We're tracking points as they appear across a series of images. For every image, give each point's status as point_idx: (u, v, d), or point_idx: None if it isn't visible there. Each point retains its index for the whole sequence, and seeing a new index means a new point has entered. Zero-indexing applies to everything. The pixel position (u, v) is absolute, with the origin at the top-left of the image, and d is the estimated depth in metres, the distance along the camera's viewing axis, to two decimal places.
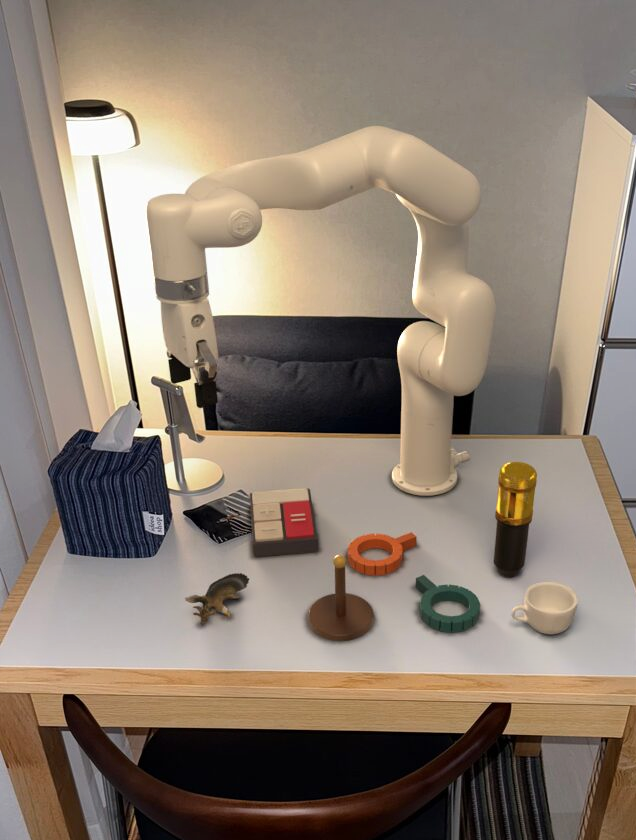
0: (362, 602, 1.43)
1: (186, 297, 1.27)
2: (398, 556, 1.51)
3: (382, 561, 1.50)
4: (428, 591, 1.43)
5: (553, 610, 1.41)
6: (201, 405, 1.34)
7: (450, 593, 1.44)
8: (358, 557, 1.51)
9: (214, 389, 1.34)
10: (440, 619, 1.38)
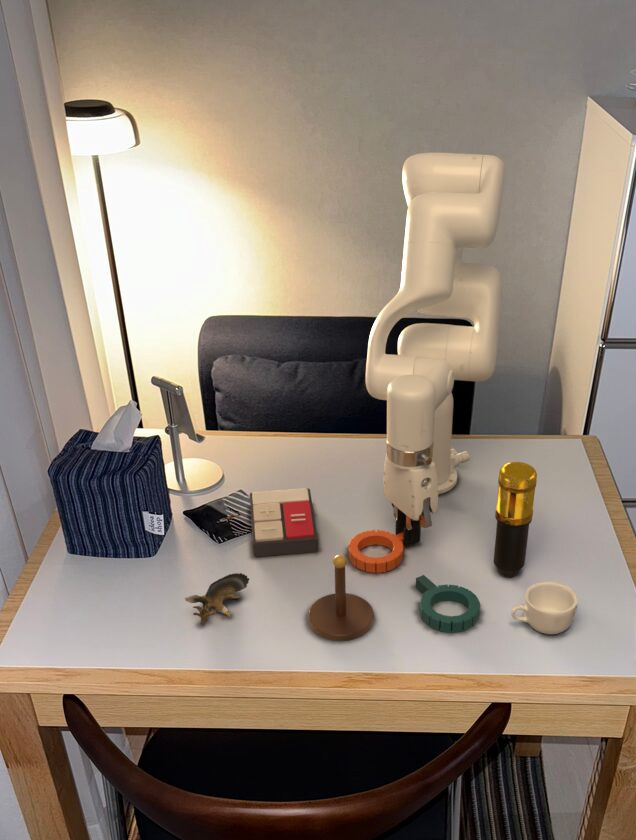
0: (362, 602, 1.43)
1: (418, 464, 1.44)
2: (399, 553, 1.52)
3: (383, 558, 1.50)
4: (428, 591, 1.43)
5: (553, 610, 1.41)
6: (407, 545, 1.55)
7: (450, 593, 1.44)
8: (359, 554, 1.51)
9: (418, 531, 1.55)
10: (440, 619, 1.38)
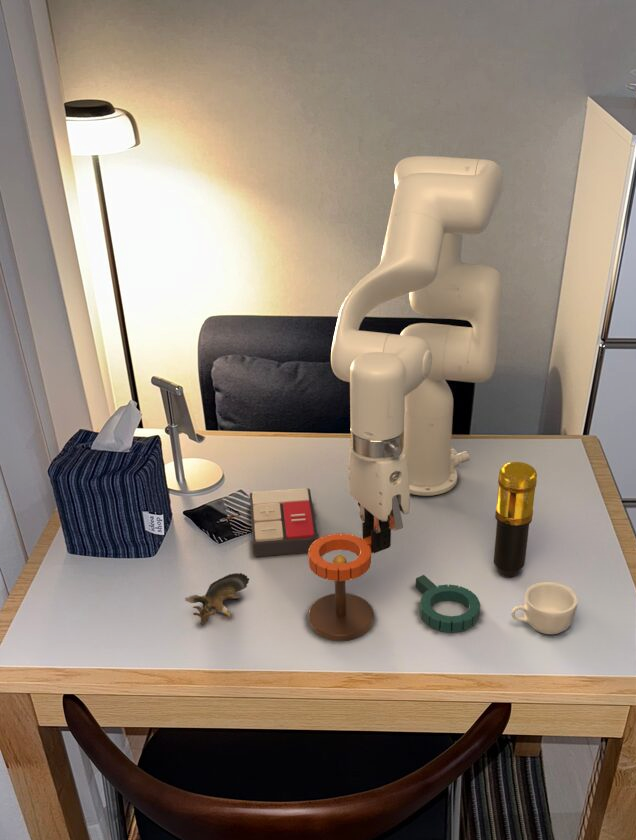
0: (362, 602, 1.43)
1: (386, 455, 1.25)
2: (365, 559, 1.32)
3: (347, 564, 1.31)
4: (428, 591, 1.43)
5: (553, 610, 1.41)
6: (376, 550, 1.36)
7: (450, 593, 1.44)
8: (319, 560, 1.32)
9: (388, 534, 1.36)
10: (440, 619, 1.38)
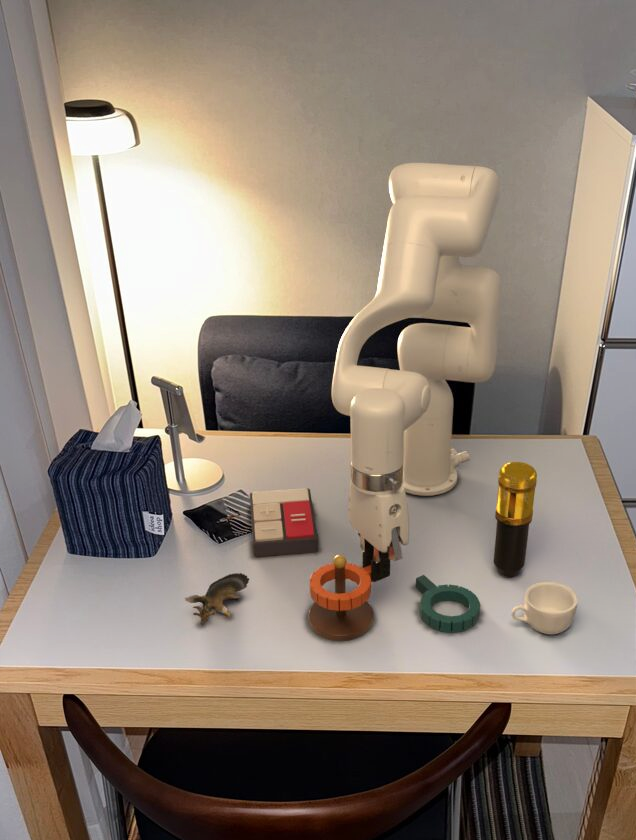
0: None
1: (386, 489, 1.28)
2: (365, 588, 1.35)
3: (347, 594, 1.34)
4: (428, 591, 1.43)
5: (553, 610, 1.41)
6: (375, 579, 1.39)
7: (450, 593, 1.44)
8: (320, 590, 1.35)
9: None
10: (440, 619, 1.38)
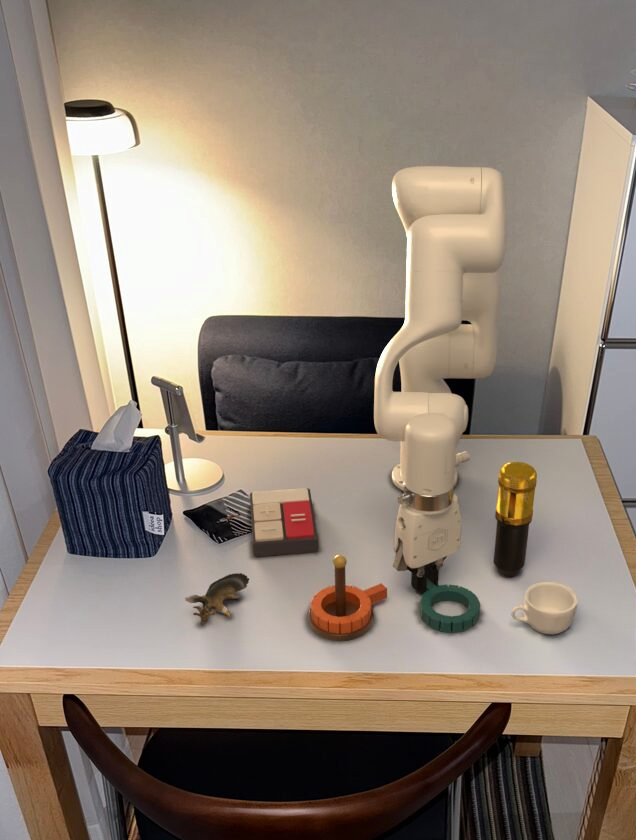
0: None
1: None
2: (366, 612, 1.37)
3: (348, 618, 1.36)
4: (428, 591, 1.43)
5: (553, 610, 1.41)
6: None
7: (450, 593, 1.44)
8: (322, 613, 1.37)
9: (422, 584, 1.44)
10: (440, 619, 1.38)
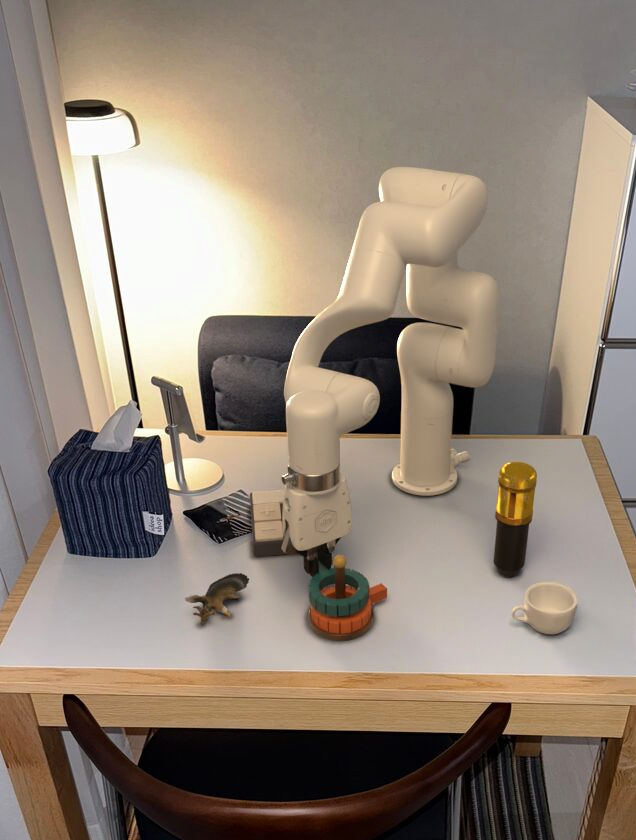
0: None
1: None
2: (366, 612, 1.37)
3: (348, 618, 1.36)
4: (318, 574, 1.40)
5: (553, 610, 1.41)
6: None
7: None
8: (322, 613, 1.37)
9: (314, 567, 1.40)
10: (326, 602, 1.35)
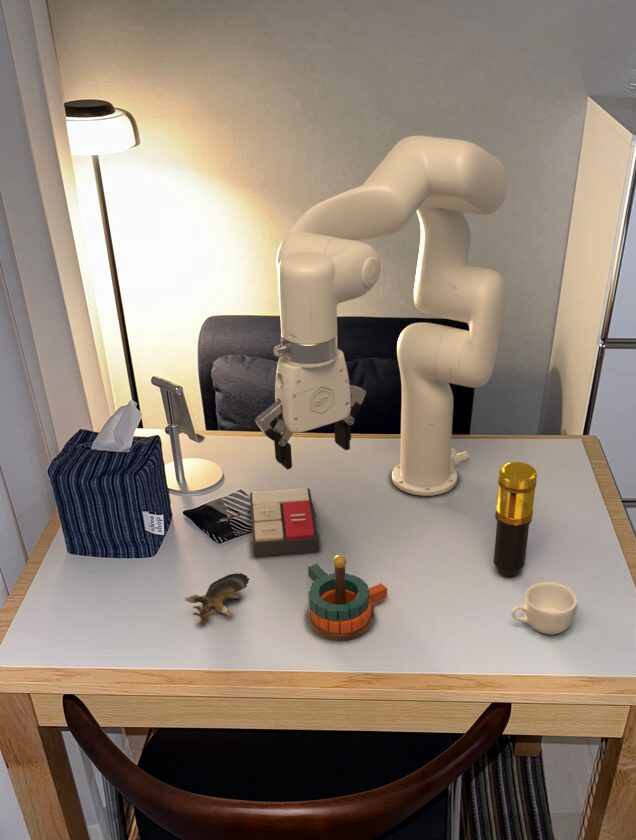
0: None
1: None
2: (366, 612, 1.37)
3: None
4: (318, 579, 1.41)
5: (553, 610, 1.41)
6: None
7: None
8: None
9: (286, 454, 1.27)
10: (326, 607, 1.35)
